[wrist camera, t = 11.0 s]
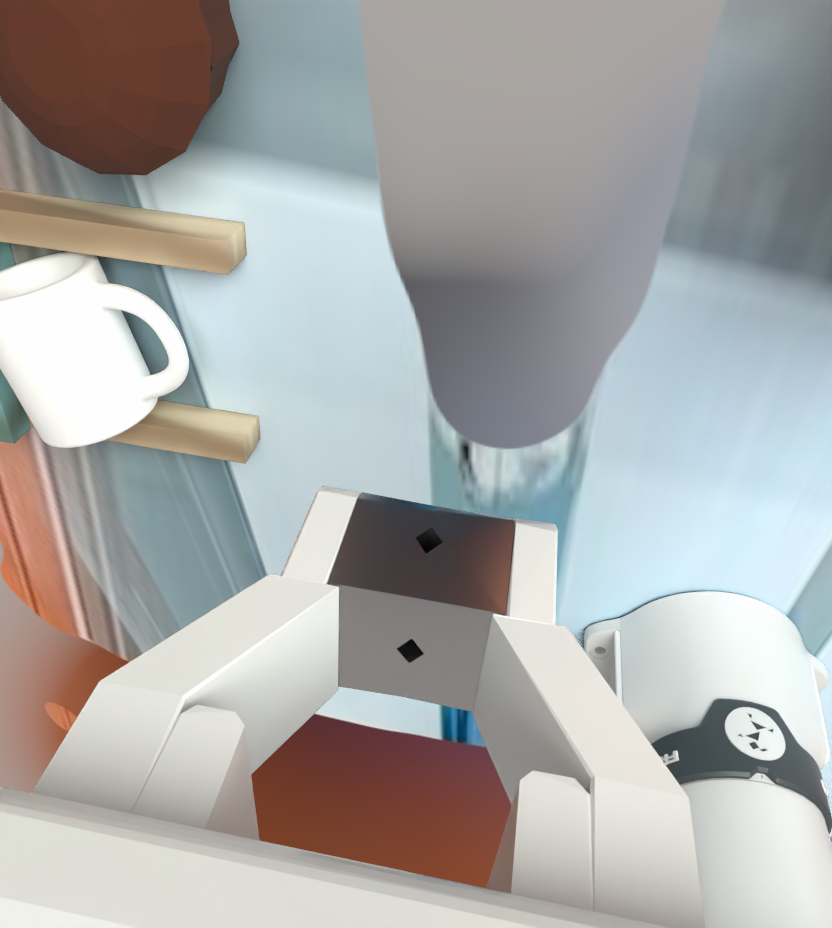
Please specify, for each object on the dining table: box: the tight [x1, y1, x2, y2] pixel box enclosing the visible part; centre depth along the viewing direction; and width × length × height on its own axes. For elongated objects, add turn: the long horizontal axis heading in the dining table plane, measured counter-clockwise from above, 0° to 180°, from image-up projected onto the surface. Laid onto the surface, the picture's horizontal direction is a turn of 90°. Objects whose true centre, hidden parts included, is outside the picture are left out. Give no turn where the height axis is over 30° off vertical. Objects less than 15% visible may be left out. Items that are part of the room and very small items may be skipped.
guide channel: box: [0, 189, 260, 464], centre depth 48 cm, size 16×18×5 cm
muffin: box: [0, 0, 239, 175], centre depth 34 cm, size 12×11×10 cm
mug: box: [0, 252, 189, 448], centre depth 47 cm, size 12×10×8 cm
